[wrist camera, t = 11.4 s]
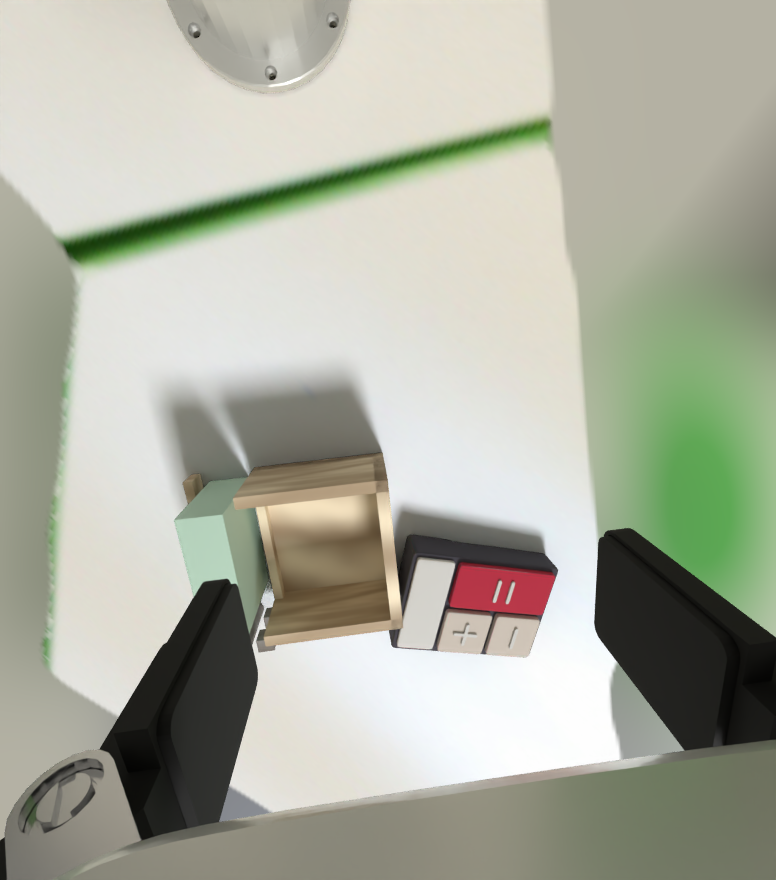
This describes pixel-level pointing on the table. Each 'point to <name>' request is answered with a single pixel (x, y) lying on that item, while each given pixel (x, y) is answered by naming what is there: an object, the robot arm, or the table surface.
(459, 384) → the table surface
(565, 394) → the table surface
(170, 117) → the table surface
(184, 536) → the green block
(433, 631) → the calculator
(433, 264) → the table surface
